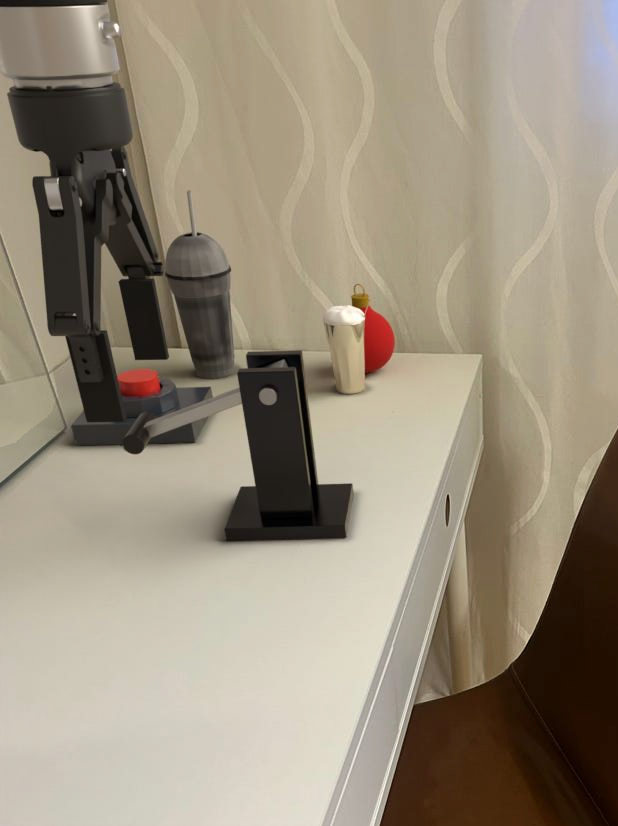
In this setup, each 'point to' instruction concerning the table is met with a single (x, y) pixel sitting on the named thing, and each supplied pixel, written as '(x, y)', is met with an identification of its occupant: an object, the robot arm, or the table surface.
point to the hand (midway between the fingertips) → (131, 387)
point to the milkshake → (346, 346)
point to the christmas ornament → (374, 334)
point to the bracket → (283, 459)
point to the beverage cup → (202, 299)
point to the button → (138, 382)
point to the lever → (180, 417)
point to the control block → (154, 403)
